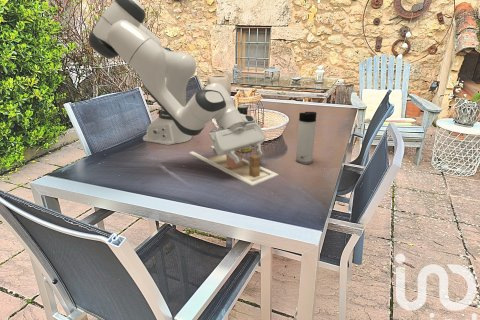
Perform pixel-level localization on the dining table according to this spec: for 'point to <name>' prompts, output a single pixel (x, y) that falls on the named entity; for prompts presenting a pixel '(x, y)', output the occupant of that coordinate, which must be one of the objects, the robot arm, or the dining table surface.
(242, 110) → the sauce bottle
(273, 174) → the guide rails
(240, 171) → the pale strip
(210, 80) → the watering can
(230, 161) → the terracotta block
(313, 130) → the travel mug
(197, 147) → the dining table surface
